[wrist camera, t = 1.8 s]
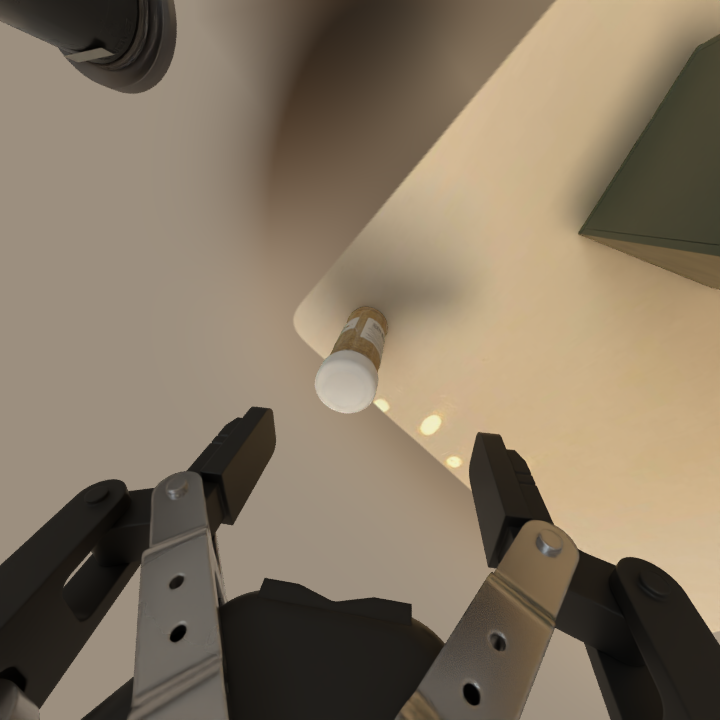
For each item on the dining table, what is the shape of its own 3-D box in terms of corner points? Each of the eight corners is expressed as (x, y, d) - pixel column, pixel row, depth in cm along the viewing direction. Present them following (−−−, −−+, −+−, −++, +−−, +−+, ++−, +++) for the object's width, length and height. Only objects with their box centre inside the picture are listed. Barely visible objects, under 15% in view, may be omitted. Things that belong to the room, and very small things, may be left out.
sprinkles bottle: (343, 308, 34) (306, 363, 22) (385, 303, 33) (371, 358, 21) (350, 347, 36) (320, 417, 24) (390, 343, 35) (379, 414, 23)
